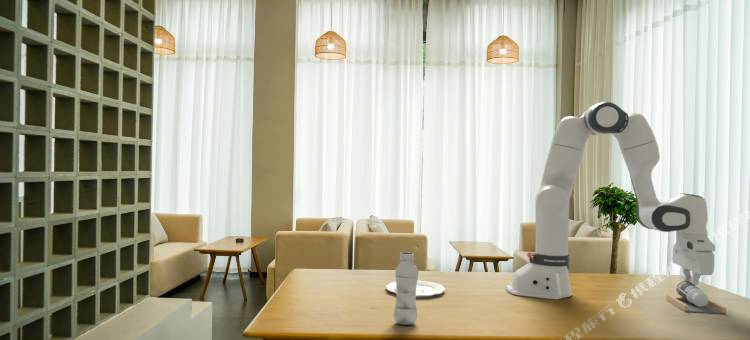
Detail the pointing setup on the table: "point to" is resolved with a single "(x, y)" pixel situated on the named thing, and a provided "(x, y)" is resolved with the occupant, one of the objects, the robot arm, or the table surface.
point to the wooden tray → (688, 307)
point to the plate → (426, 286)
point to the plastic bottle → (406, 290)
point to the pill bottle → (692, 293)
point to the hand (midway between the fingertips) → (691, 282)
